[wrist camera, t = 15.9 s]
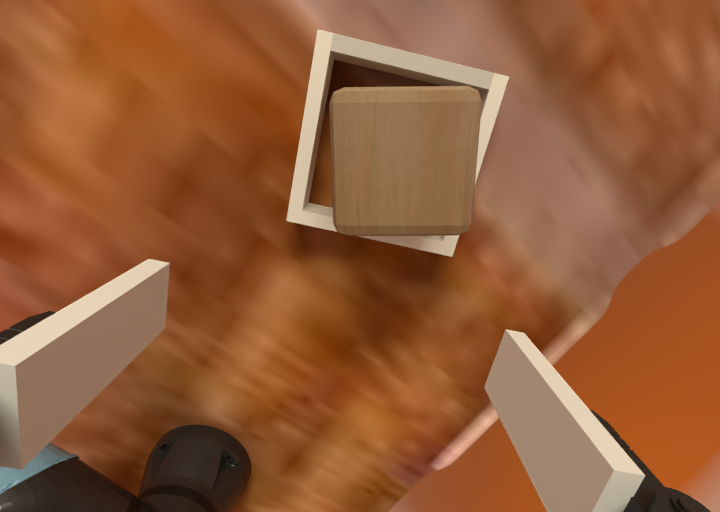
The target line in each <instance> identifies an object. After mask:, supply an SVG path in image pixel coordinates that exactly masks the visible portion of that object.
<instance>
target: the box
mask: <svg viewBox="0 0 720 512" xmlns="http://www.w3.org/2000/svg"><path fill="white" fill-rule="evenodd" d="M334 60H337V61H341V62H345V63H349V64H354V65H358V66H362V67H366V68H370V69H374V70H378V71H382V72H386V73H391V74H395V75H399V76H403V77H407V78H411V79H415V80H419V81H423V82H427V83H432V84H436V85H440V86H469V87H471V88H473V89H476V90H478V91H479V94H480V98H481V101H482V108H481V119H480V131H479V143H478V154H477V166H476V178H475V183H476V180H477V177H478V174H479V171H480V167H481V164H482V161H483V158H484V155H485V152H486V148H487V145H488V142H489V139H490V136H491V132H492V129H493V126H494V123H495V120H496V117H497V113H498V110H499V107H500V104H501V101H502V98H503V94H504V91H505V88H506V85H507V82H508V79H509V77H508V76H504V75H500V74H496V73H492V72H488V71H484V70H480V69H476V68H472V67H468V66H464V65H460V64H456V63H452V62H448V61H444V60H440V59H436V58H432V57H427V56H423V55H419V54H415V53H411V52H407V51H403V50H399V49H395V48H391V47H387V46H383V45H379V44H375V43H371V42H367V41H363V40H359V39H355V38H351V37H347V36H343V35H339V34H335V33H331V32H326V31H322V30H318V31H317V37H316V43H315V49H314V55H313V61H312V68H311V74H310V80H309V86H308V92H307V98H306V104H305V110H304V116H303V123H302V129H301V135H300V141H299V147H298V153H297V159H296V165H295V171H294V178H293V184H292V190H291V196H290V202H289V208H288V214H287V220H286V221H289V222H294V223H298V224H303V225H307V226H312V227H317V228H321V229H326V230H331V231H335V232H337V230H336V228H335V226H334V224H333V208H331V207H326V206H322V205H317V204H313V203H309V197H310V192H311V186H312V181H313V175H314V169H315V164H316V158H317V153H318V147H319V142H320V136H321V130H322V125H323V119H324V114H325V108H326V103H327V97H328V92H329V86H330V80H331V75H332V69H333V64H334ZM358 237H363V238H367V239H372V240H377V241H381V242H386V243H390V244H395V245H400V246H404V247H409V248H414V249H418V250H423V251H427V252H432V253H437V254H441V255H446V256H450V257H452V256H453V253H454V250H455V247H456V244H457V240H458V237H459V235H452V236H358Z"/></svg>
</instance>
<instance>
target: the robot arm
mask: <svg viewBox="0 0 720 512" xmlns="http://www.w3.org/2000/svg"><path fill="white" fill-rule="evenodd" d="M169 266H170V263H167V262H162V261H157V260H152V259H148V260H146V261H144V262H143V263H141V264H139V265H138V266H136V267H134V268H132V269H131V270H129V271H127V272H125V273H124V274H122V275H120V276H119V277H117V278H115V279H113V280H112V281H110V282H108V283H106V284H105V285H103V286H101V287H100V288H98V289H96V290H94V291H93V292H91V293H89V294H87V295H86V296H84V297H82V298H81V299H79V300H77V301H75V302H74V303H72V304H70V305H68V306H67V307H65V308H63V309H62V310H60V311H58V312H52V311H48V312H45V313H42V314H38V315H35V316H32V317H28V318H26V319H24V320H22V321H21V322H19V323H17V324H15V325H13V326H11V327H10V329H9V330H8V329H6V330H4V331H2V332H0V512H230V511H231V509H232V508H233V507H234V505H235V504H236V503H237V501H238V500H239V499H240V497H241V496H242V494H243V492H244V491H245V488H246V485H247V482H248V479H249V476H250V472H251V464H250V460H249V457H248V454H247V452H246V451H245V449H244V448H243V447H242V445H241V444H240V443H239V442H238V441H237V440H236V439H234V438H233V437H232V436H230V435H229V434H227V433H225V432H223V431H221V430H219V429H216V428H213V427H208V426H203V425H188V426H182V427H179V428H176V429H173V430H171V431H169V432H168V433H166V434H165V435H164V436H163V437H162V438H161V439H160V440H159V441H158V443H157V444H156V446H155V447H154V449H153V450H152V452H151V454H150V456H149V458H148V460H147V464H146V468H145V472H144V476H143V480H142V484H141V487H140V491H139V495H138V497H135V496H134V495H133V494H131V493H130V492H128V491H126V490H125V489H123V488H122V487H120V486H119V485H117V484H116V483H114V482H113V481H111V480H110V479H108V478H107V477H105V476H104V475H102V474H101V473H99V472H97V471H96V470H94V469H93V468H91V467H90V466H88V465H87V464H85V463H84V462H82V461H81V460H79V456H78V455H76V454H70V453H68V452H66V451H65V450H63V449H61V448H60V447H58V446H56V445H54V444H52V443H49V442H50V441H51V440H52V439H53V438H54V437H55V436H56V435H57V434H58V433H59V432H60V431H61V430H62V429H63V428H65V427H66V426H67V425H68V424H69V423H70V422H71V421H72V420H73V419H74V418H75V417H76V416H77V415H78V414H79V413H80V412H81V411H82V410H83V409H84V408H85V407H86V406H87V405H88V404H89V403H90V402H91V401H92V400H93V399H94V398H95V397H96V396H97V395H98V394H99V393H100V392H101V391H102V390H103V389H104V388H105V387H106V386H107V385H108V384H109V383H110V382H111V381H112V380H113V379H114V378H115V377H116V376H117V375H118V374H119V373H120V372H121V371H122V370H123V369H124V368H125V367H126V366H127V365H128V364H129V363H130V362H131V361H132V360H133V359H134V358H135V357H136V356H137V355H138V354H139V353H140V352H142V351H143V350H144V349H145V348H146V347H147V346H148V345H149V344H150V343H151V342H152V341H153V340H154V339H155V338H156V337H157V336H158V335H159V334H160V333H161V332H162V331H163V330H164V329H165V323H166V309H167V295H168V280H169ZM484 388H485V390H486V392H487V394H488V396H489V398H490V400H491V402H492V404H493V406H494V408H495V410H496V412H497V414H498V416H499V418H500V420H501V421H502V424H503V425H504V427H505V429H506V431H507V433H508V435H509V437H510V439H511V441H512V443H513V445H514V447H515V449H516V451H517V453H518V455H519V457H520V459H521V461H522V463H523V465H524V467H525V469H526V471H527V473H528V475H529V477H530V479H531V481H532V483H533V485H534V487H535V489H536V491H537V493H538V495H539V497H540V499H541V501H542V503H543V505H544V507H545V509H546V510H547V512H710V511H709V510H708V509H707V508H706V507H705V506H703V505H702V504H701V503H699V502H698V501H696V500H694V499H693V498H692V497H690V496H688V495H686V494H684V493H682V492H680V491H678V490H675V489H671V488H667V487H664V486H663V485H662V484H661V482H660V481H659V480H658V479H657V478H656V477H655V476H654V474H653V473H652V472H651V471H650V470H649V469H648V468H647V466H646V465H645V464H644V463H643V462H642V461H641V460H640V458H639V457H638V456H637V455H636V454H635V453H634V452H633V450H630V447H629V446H628V445H627V444H626V442H625V441H624V440H623V439H620V436H619V435H618V433H617V432H616V431H615V430H614V429H613V428H612V427H611V425H610V424H609V423H608V422H607V421H605V420H604V419H603V418H601V417H600V416H599V415H598V414H596V413H595V412H594V411H592V410H589V409H588V408H587V406H586V405H585V404H584V403H583V402H582V401H581V399H580V398H579V397H578V396H577V395H576V393H575V392H574V391H573V390H572V389H571V388H570V387H569V385H568V384H567V383H566V382H565V381H564V380H563V378H562V377H561V376H560V375H559V373H558V372H557V371H556V370H555V369H554V368H553V366H552V365H551V364H550V363H549V362H548V361H547V359H546V358H545V357H544V356H543V355H542V353H541V352H540V351H539V350H538V349H537V348H536V346H535V345H534V344H533V343H532V342H531V341H530V339H529V338H528V337H527V336H526V335H525V333H522V332H517V331H512V330H507V329H506V330H505V332H504V335H503V338H502V341H501V343H500V346H499V349H498V351H497V354H496V357H495V360H494V362H493V365H492V368H491V370H490V373H489V376H488V379H487V381H486V384H485V387H484Z"/></svg>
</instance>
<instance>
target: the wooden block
mask: <svg viewBox="0 0 720 512" xmlns="http://www.w3.org/2000/svg"><path fill="white" fill-rule="evenodd" d="M481 108H482V101H481V98H480V94H479V91H478V90H476V89H473V88H471V87H469V86H415V87H344V88H341V89H339V90H337V91H335V92H333V95H332V98H331V101H330V103H329V111H330V142H331V174H332V205H333V224H334V226H335V228H336V230H337V232H338V233H341V234H343V235H346V236H452V235H459V234H462V233H465V232H467V231H468V229H469V226H470V224H471V222H472V213H473V201H474V189H475V178H476V166H477V154H478V143H479V131H480V119H481Z"/></svg>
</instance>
